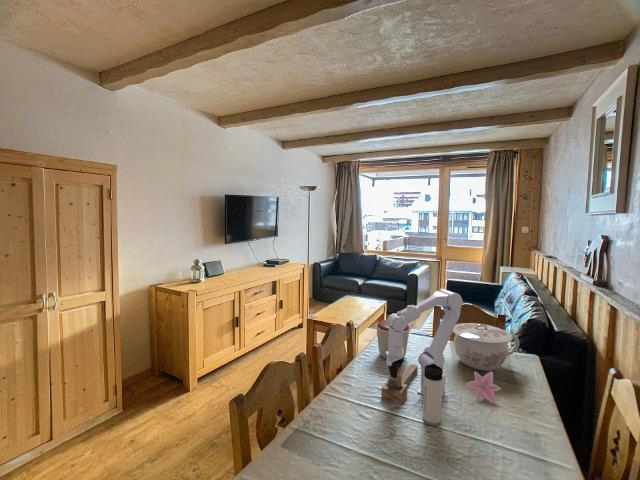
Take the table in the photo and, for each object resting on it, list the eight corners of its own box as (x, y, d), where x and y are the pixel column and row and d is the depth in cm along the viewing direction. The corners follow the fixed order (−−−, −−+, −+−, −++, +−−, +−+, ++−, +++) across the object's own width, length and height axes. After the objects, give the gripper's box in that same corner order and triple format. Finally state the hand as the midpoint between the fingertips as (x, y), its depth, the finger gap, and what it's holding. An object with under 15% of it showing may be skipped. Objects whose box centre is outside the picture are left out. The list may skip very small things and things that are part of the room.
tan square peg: (401, 387, 133) (402, 368, 133) (399, 389, 132) (400, 370, 131) (389, 383, 136) (390, 365, 136) (388, 385, 135) (388, 367, 134)
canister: (413, 364, 163) (415, 323, 162) (377, 364, 164) (378, 323, 162) (405, 349, 181) (406, 312, 180) (372, 349, 182) (373, 312, 180)
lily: (460, 395, 138) (465, 382, 132) (472, 376, 145) (477, 363, 139) (490, 414, 131) (496, 401, 125) (500, 393, 138) (507, 380, 132)
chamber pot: (440, 363, 165) (441, 323, 163) (464, 348, 183) (465, 312, 182) (500, 385, 144) (502, 339, 142) (520, 365, 163) (522, 325, 161)
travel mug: (440, 416, 121) (442, 364, 120) (441, 427, 115) (443, 373, 113) (423, 413, 123) (424, 362, 122) (422, 423, 117) (424, 370, 116)
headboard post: (422, 373, 154) (422, 364, 153) (400, 404, 129) (400, 393, 129) (406, 369, 158) (406, 360, 158) (381, 398, 133) (381, 387, 133)
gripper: (392, 336, 141) (392, 366, 142) (379, 347, 129) (378, 380, 130) (408, 339, 137) (407, 371, 138) (396, 351, 125) (395, 385, 126)
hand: (394, 376), depth 134 cm, fingers closed on tan square peg, 2 cm apart
